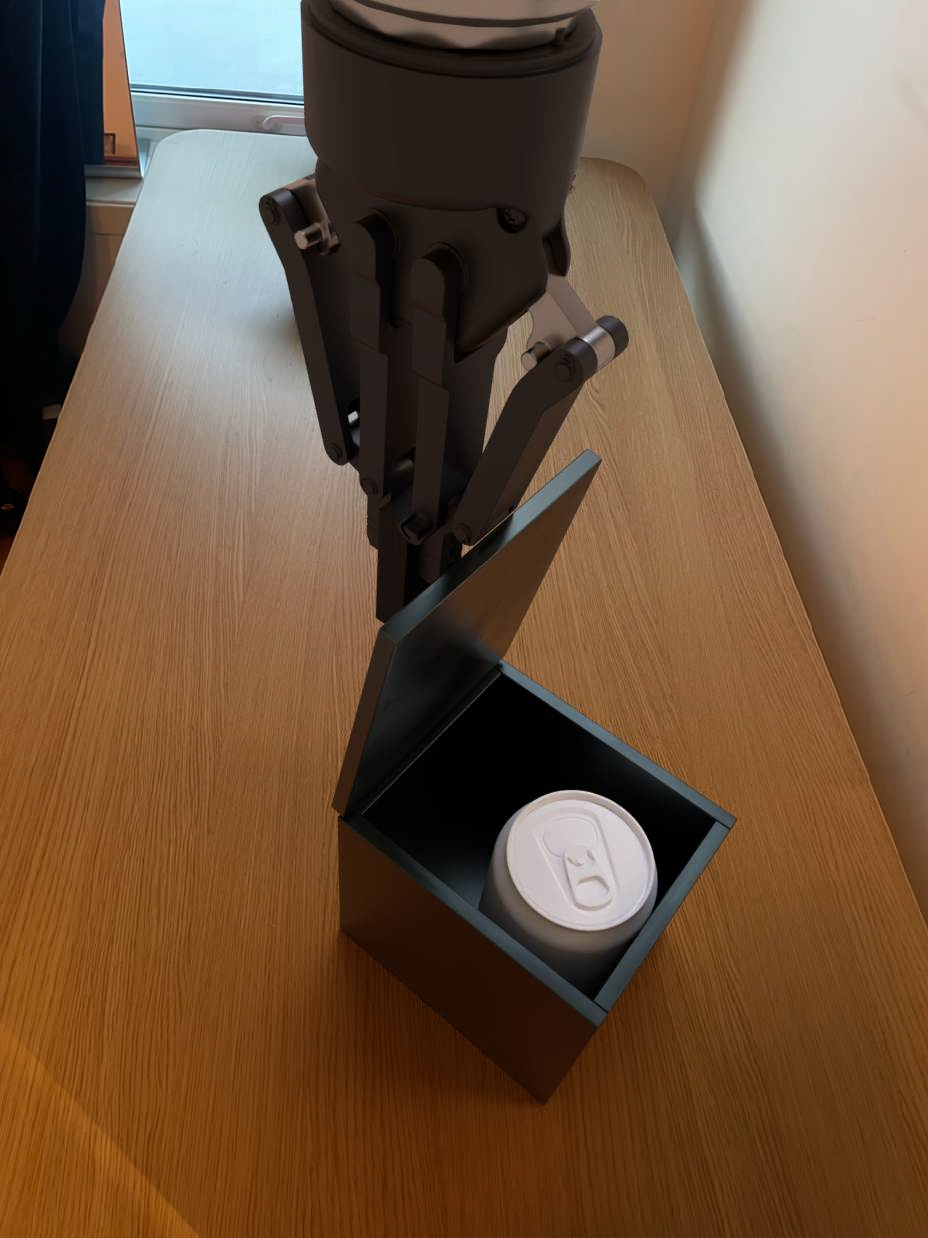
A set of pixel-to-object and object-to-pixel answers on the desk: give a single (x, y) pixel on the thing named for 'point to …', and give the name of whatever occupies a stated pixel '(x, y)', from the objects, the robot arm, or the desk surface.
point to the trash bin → (461, 854)
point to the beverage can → (572, 884)
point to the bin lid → (455, 632)
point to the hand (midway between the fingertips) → (408, 608)
